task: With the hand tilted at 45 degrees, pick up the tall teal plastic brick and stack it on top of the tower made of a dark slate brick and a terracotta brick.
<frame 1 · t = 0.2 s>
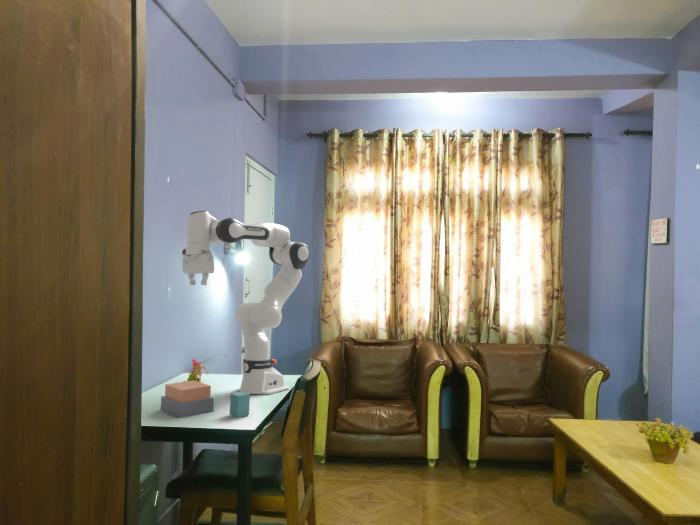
hand: (198, 285, 211), 47 cm above the table, tool pointing down, fingers open, 8 cm apart
teal brick: (239, 415, 193), on the table
brick tower: (187, 410, 198), on the table
figurine: (197, 391, 229), on the table
bird rattle: (193, 382, 246), on the table
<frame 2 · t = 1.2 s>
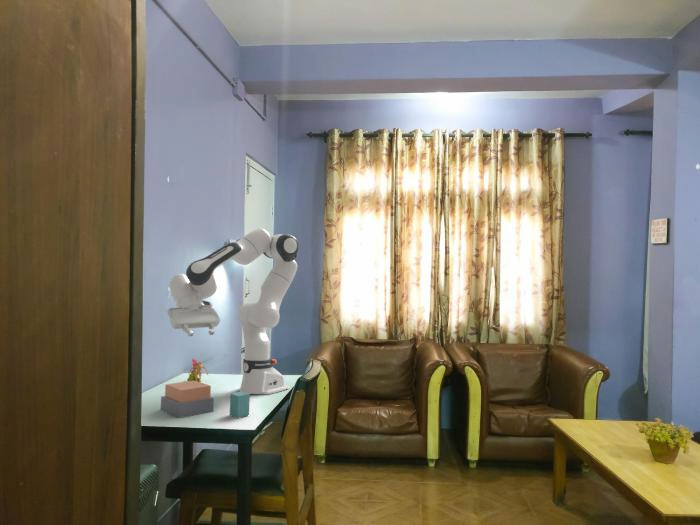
hand: (202, 334, 206), 28 cm above the table, tool tilted 45°, fingers open, 8 cm apart
nothing on the table moved.
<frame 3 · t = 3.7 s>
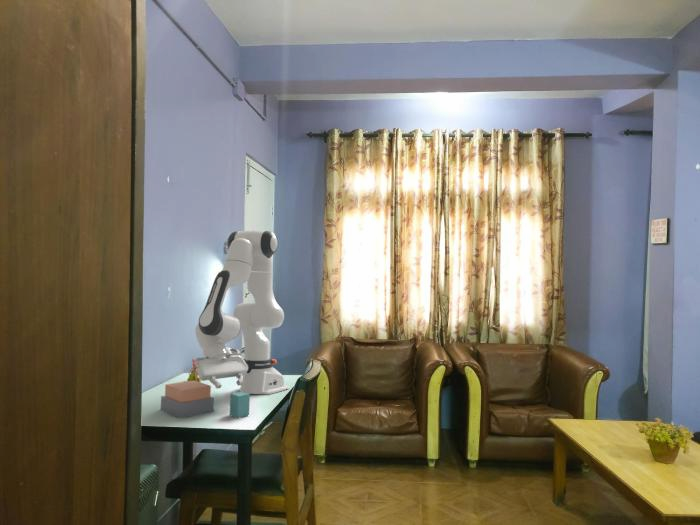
hand: (230, 385, 197), 10 cm above the table, tool tilted 45°, fingers open, 8 cm apart
nothing on the table moved.
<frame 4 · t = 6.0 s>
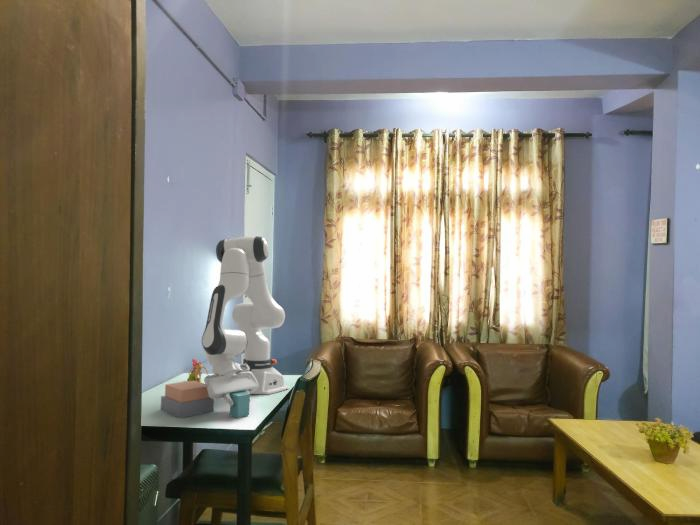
hand: (240, 403, 193), 4 cm above the table, tool tilted 45°, fingers closed on teal brick, 5 cm apart
teal brick: (239, 415, 193), on the table, touching gripper
everything else where it was.
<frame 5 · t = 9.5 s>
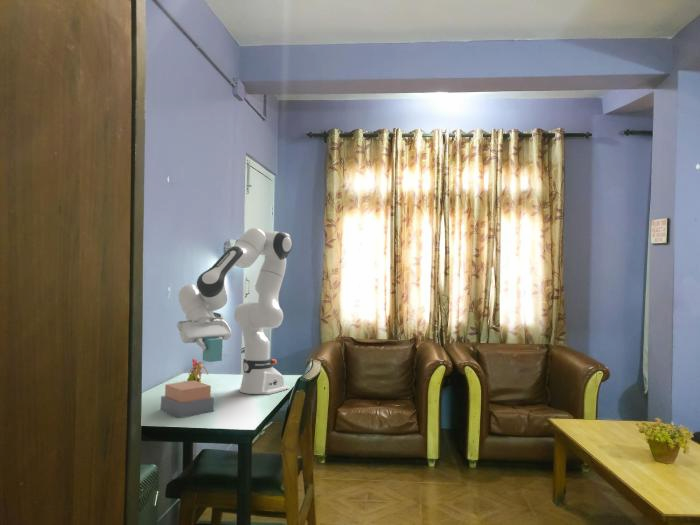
hand: (213, 348, 196), 24 cm above the table, tool tilted 45°, fingers closed on teal brick, 5 cm apart
teal brick: (212, 360, 196), point 20 cm above the table, touching gripper
everything else where it was.
when the fingers open (15 cm above the table, at t = 12.9 s): teal brick drops 1 cm, resting on brick tower.
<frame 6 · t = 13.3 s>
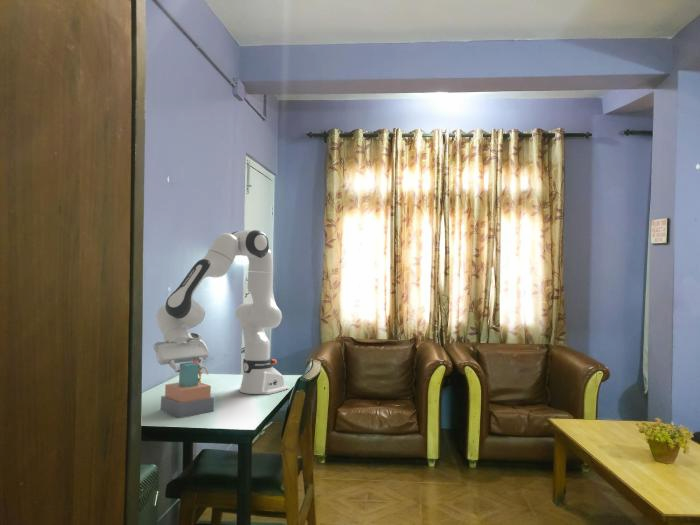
hand: (189, 369, 198), 15 cm above the table, tool tilted 45°, fingers open, 8 cm apart
teal brick: (188, 385, 198), point 9 cm above the table, touching brick tower
everything else where it was.
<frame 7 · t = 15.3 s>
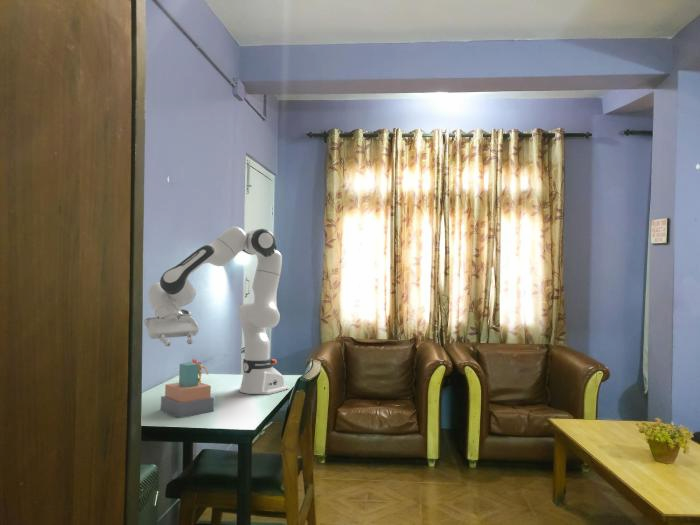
hand: (179, 344, 204), 24 cm above the table, tool tilted 45°, fingers open, 8 cm apart
nothing on the table moved.
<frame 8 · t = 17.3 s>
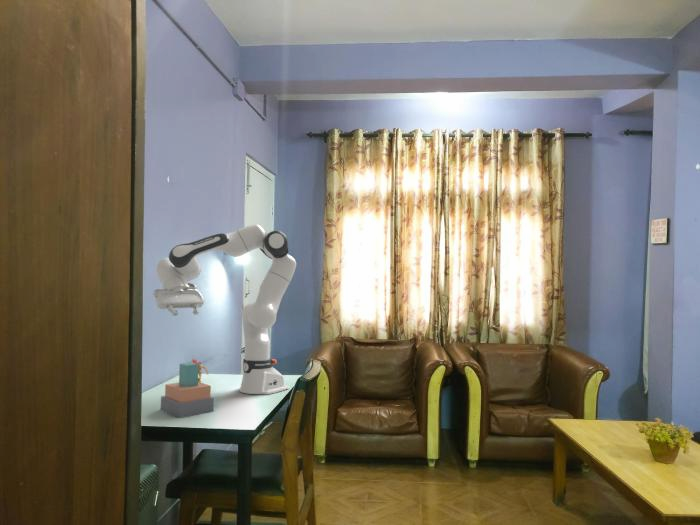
hand: (186, 314, 218), 34 cm above the table, tool tilted 45°, fingers open, 8 cm apart
nothing on the table moved.
at the end: teal brick inside the target area on the brick tower (0.1 cm from its centre), point 9.5 cm above the brick tower's base; teal brick tilted 0°; the gripper is holding nothing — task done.
